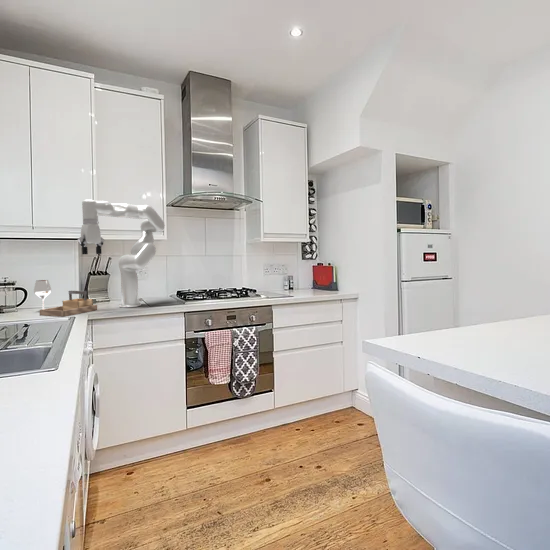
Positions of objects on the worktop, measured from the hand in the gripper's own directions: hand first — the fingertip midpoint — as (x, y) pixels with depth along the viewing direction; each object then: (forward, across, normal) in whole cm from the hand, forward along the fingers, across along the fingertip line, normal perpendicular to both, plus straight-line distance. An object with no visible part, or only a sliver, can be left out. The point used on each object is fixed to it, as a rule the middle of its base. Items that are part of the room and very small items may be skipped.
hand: (92, 254), depth 205 cm
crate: (+31, +4, -7) cm, 32 cm away
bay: (+32, +10, -7) cm, 35 cm away
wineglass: (+32, +9, -27) cm, 43 cm away
